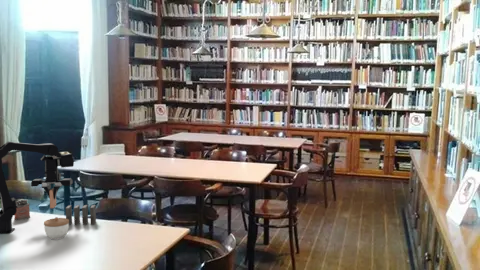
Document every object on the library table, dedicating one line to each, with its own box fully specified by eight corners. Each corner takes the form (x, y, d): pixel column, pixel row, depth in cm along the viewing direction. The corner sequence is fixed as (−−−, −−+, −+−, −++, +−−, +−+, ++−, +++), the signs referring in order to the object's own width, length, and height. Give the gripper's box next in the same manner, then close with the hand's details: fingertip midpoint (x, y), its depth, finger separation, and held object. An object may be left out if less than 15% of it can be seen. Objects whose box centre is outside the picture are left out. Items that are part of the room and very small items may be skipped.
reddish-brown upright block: (28, 216, 242) (27, 198, 241) (31, 217, 240) (30, 199, 239) (13, 219, 236) (12, 201, 235) (16, 220, 234) (15, 202, 233)
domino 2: (69, 225, 227) (68, 207, 226) (66, 225, 227) (65, 208, 226) (72, 222, 232) (71, 205, 231) (68, 222, 232) (68, 205, 231)
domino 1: (53, 208, 226) (52, 190, 225) (50, 208, 225) (49, 190, 225) (56, 205, 231) (55, 188, 230) (53, 205, 230) (52, 188, 229)
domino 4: (85, 225, 228) (85, 207, 227) (82, 225, 227) (82, 207, 227) (88, 222, 233) (87, 205, 232) (84, 222, 232) (84, 205, 232)
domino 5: (93, 224, 228) (93, 207, 227) (90, 224, 228) (90, 207, 227) (95, 221, 233) (95, 204, 232) (92, 222, 233) (92, 205, 232)
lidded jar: (74, 234, 213) (73, 215, 212) (60, 242, 202) (59, 221, 201) (53, 233, 215) (53, 213, 214) (39, 240, 204) (38, 220, 203)
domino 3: (77, 225, 227) (77, 207, 226) (74, 225, 227) (73, 207, 226) (80, 222, 232) (79, 205, 231) (76, 222, 232) (76, 205, 231)
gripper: (74, 165, 235) (75, 194, 236) (37, 166, 232) (38, 195, 234) (69, 169, 224) (70, 200, 225) (29, 170, 221) (31, 201, 223)
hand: (52, 199), depth 227 cm, fingers closed on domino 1, 2 cm apart
